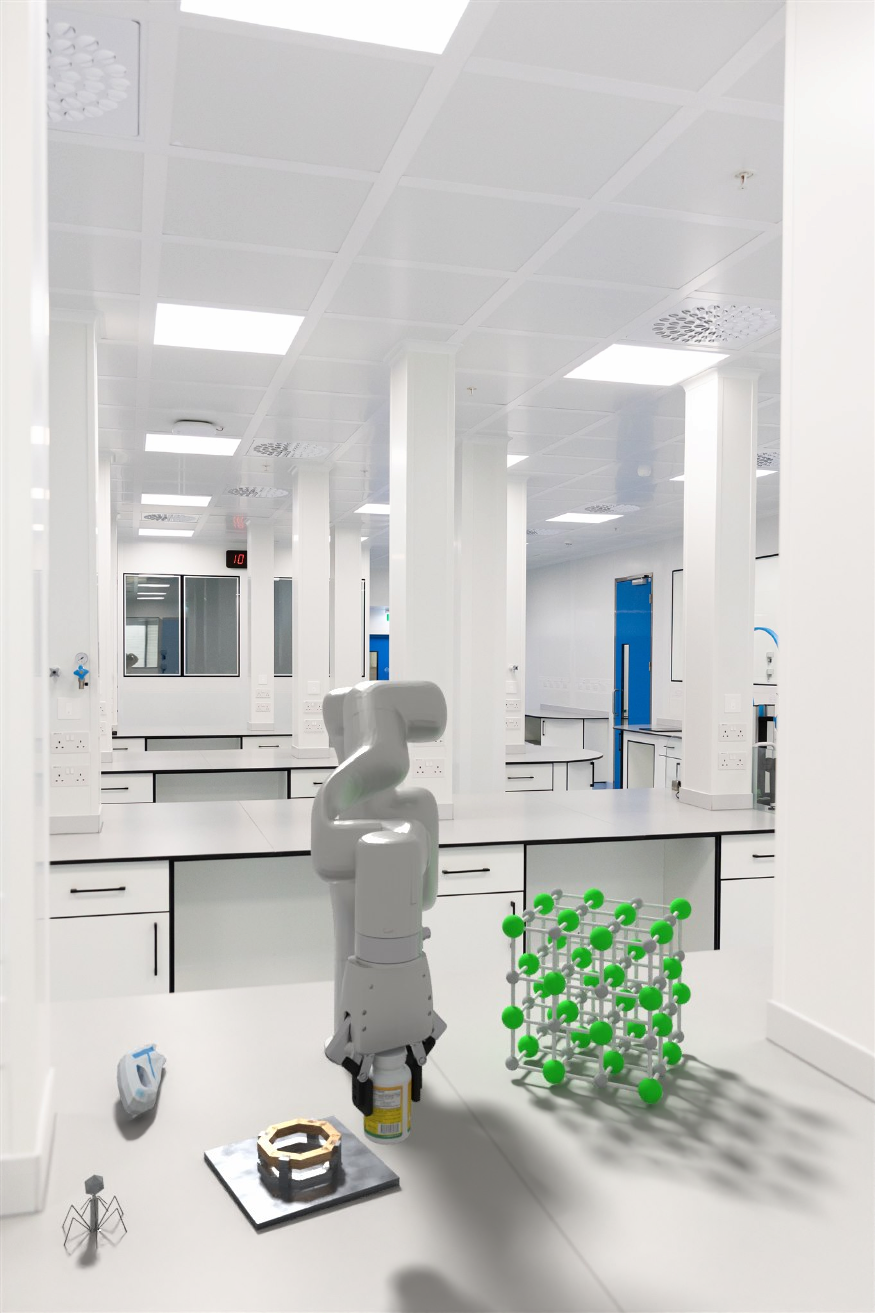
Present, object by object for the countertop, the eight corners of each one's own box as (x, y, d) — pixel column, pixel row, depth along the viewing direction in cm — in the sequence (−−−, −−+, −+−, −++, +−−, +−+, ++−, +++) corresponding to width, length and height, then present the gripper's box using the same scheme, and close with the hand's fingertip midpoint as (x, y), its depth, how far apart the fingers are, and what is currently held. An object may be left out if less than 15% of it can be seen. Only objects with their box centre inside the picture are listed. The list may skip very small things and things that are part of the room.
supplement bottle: (388, 1151, 106) (388, 1064, 105) (353, 1134, 109) (353, 1050, 109) (421, 1132, 110) (421, 1048, 110) (386, 1116, 113) (386, 1035, 113)
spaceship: (118, 1080, 129) (96, 1108, 129) (158, 1109, 130) (136, 1137, 130) (137, 1024, 152) (118, 1048, 152) (171, 1049, 153) (152, 1073, 152)
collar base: (333, 1123, 132) (333, 1092, 132) (399, 1185, 117) (399, 1151, 117) (204, 1159, 123) (204, 1126, 123) (257, 1233, 107) (257, 1195, 107)
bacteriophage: (61, 1264, 102) (61, 1200, 102) (58, 1223, 109) (58, 1163, 109) (131, 1248, 105) (131, 1186, 105) (123, 1209, 112) (123, 1151, 112)
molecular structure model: (692, 1044, 159) (693, 896, 159) (659, 1110, 136) (660, 937, 136) (550, 1019, 169) (551, 880, 169) (497, 1077, 147) (498, 916, 146)
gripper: (435, 923, 117) (434, 1072, 117) (303, 947, 108) (303, 1109, 108) (470, 941, 110) (469, 1099, 111) (333, 968, 101) (332, 1140, 102)
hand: (387, 1102), depth 110 cm, fingers closed on supplement bottle, 5 cm apart
